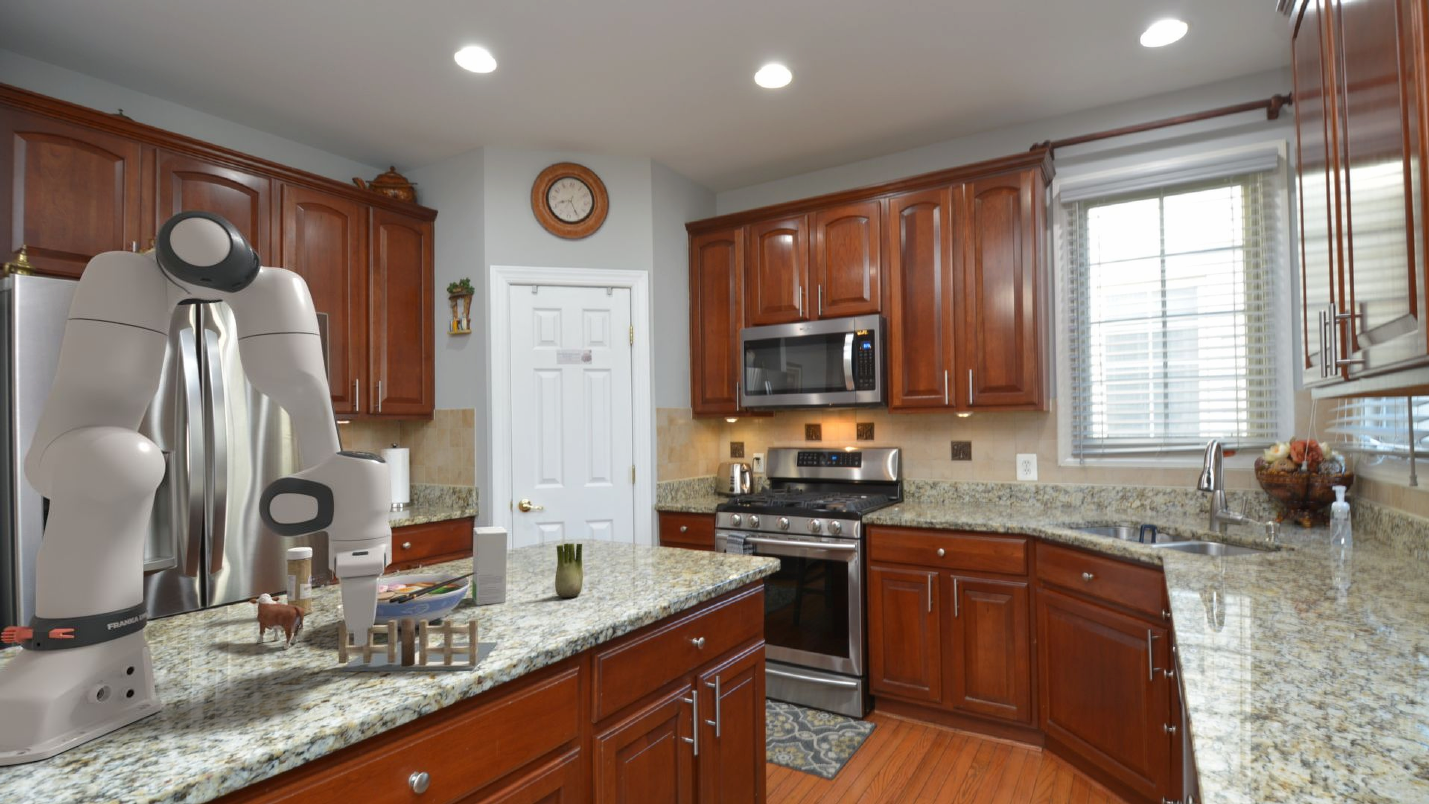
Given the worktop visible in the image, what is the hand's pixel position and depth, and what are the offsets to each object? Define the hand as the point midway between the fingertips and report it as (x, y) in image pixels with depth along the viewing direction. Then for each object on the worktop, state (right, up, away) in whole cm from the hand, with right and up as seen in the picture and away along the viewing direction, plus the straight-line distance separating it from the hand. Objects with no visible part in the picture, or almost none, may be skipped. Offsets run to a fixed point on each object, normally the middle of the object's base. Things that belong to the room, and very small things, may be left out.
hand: (360, 643), depth 111 cm
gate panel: (0, -4, +3) cm, 5 cm away
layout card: (+7, -5, +8) cm, 11 cm away
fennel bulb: (+23, -6, +47) cm, 53 cm away
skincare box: (+6, -6, +45) cm, 46 cm away
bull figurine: (-23, -6, +16) cm, 28 cm away
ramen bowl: (-4, -6, +27) cm, 28 cm away
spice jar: (-30, -6, +35) cm, 46 cm away
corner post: (+6, -5, +3) cm, 8 cm away
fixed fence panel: (+13, -5, +3) cm, 14 cm away
